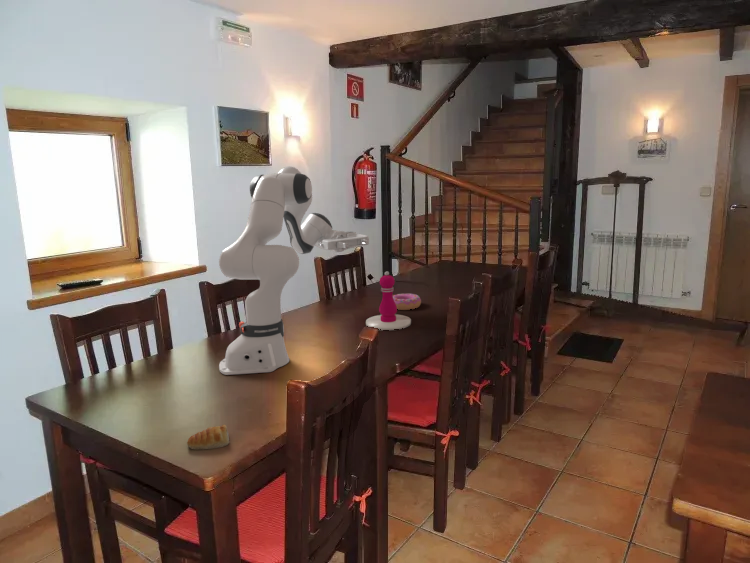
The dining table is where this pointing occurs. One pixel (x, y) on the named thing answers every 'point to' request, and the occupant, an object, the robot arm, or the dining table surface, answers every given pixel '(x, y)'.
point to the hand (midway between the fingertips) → (356, 244)
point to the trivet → (398, 324)
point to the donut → (407, 301)
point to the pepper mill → (387, 299)
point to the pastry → (209, 438)
